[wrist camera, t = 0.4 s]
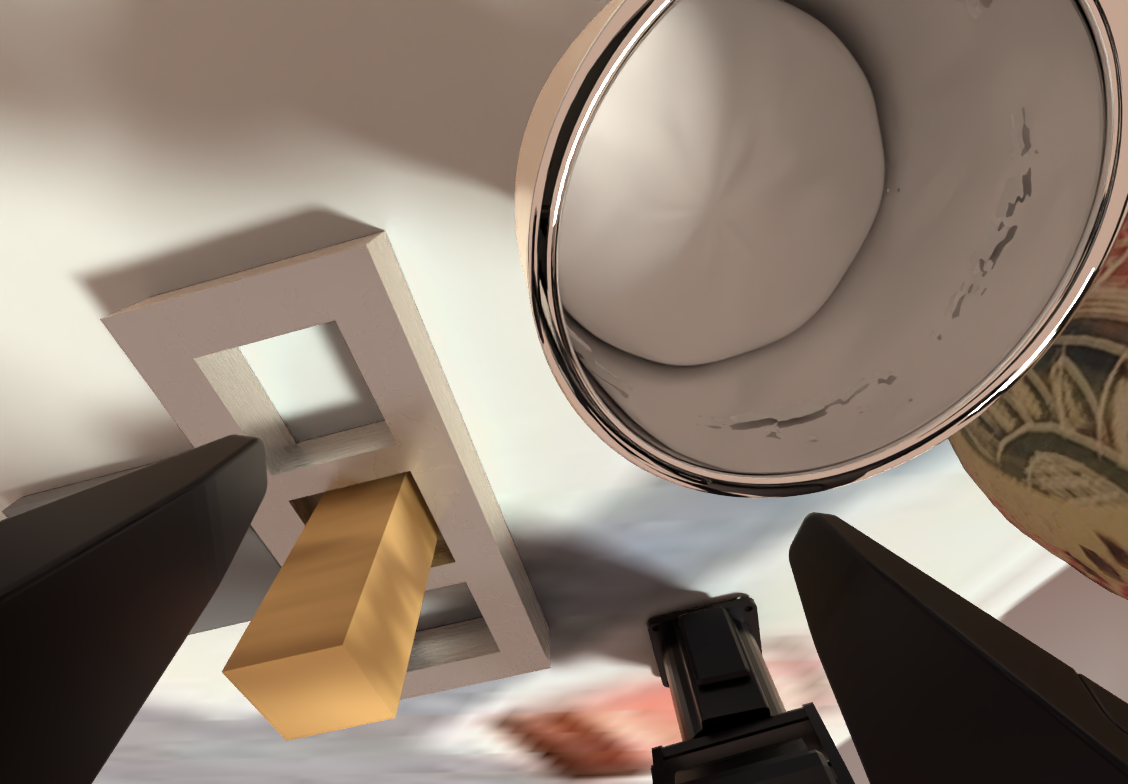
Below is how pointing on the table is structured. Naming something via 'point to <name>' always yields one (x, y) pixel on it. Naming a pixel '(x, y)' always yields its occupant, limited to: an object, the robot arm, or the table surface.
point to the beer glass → (816, 223)
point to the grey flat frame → (349, 433)
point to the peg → (341, 612)
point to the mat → (238, 586)
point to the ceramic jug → (1067, 438)
